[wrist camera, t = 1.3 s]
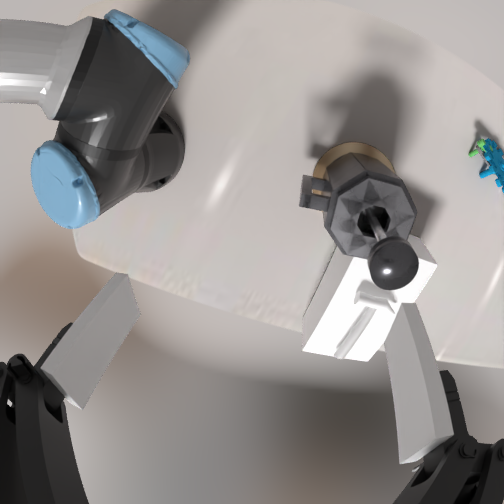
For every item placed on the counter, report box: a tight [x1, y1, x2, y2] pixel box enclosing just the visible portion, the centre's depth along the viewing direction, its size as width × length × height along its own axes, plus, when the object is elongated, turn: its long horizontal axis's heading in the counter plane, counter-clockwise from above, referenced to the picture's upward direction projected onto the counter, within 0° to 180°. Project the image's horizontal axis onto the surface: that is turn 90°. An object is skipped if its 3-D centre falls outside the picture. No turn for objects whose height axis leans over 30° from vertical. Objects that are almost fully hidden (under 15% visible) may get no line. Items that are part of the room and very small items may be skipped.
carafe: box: [299, 152, 417, 259], centre depth 35 cm, size 14×11×14 cm
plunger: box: [357, 205, 419, 290], centre depth 26 cm, size 8×8×14 cm
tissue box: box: [302, 234, 438, 361], centre depth 45 cm, size 14×25×11 cm, turn 167°
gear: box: [469, 138, 504, 193], centre depth 31 cm, size 11×6×10 cm
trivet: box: [312, 142, 395, 212], centre depth 41 cm, size 14×14×1 cm
